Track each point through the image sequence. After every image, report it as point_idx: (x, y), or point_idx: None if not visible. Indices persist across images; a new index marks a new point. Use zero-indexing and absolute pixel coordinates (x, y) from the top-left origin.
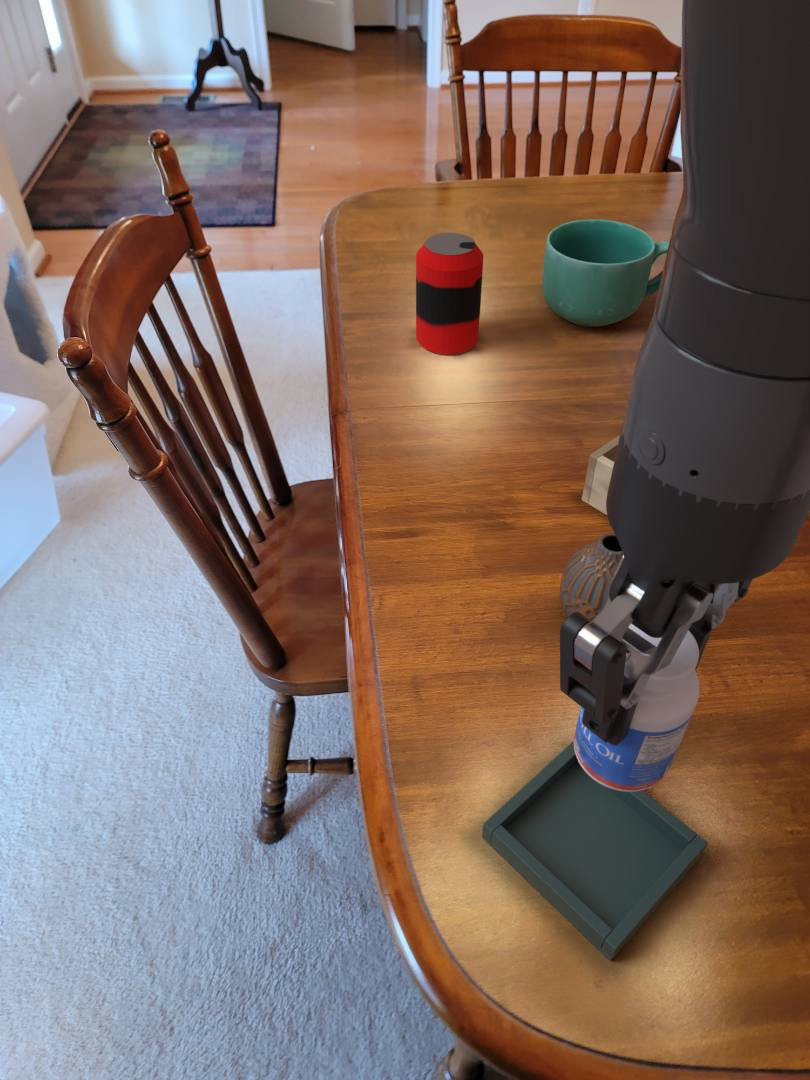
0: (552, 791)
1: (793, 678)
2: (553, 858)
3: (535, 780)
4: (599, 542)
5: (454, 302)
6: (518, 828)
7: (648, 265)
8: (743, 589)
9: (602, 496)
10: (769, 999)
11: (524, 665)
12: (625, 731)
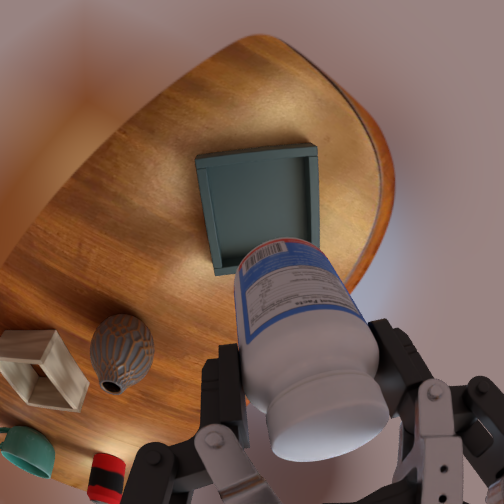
0: None
1: (38, 223)
2: (290, 215)
3: None
4: (122, 392)
5: (107, 481)
6: None
7: (6, 446)
8: (154, 465)
9: (79, 383)
10: (241, 60)
11: (198, 327)
12: (386, 334)
